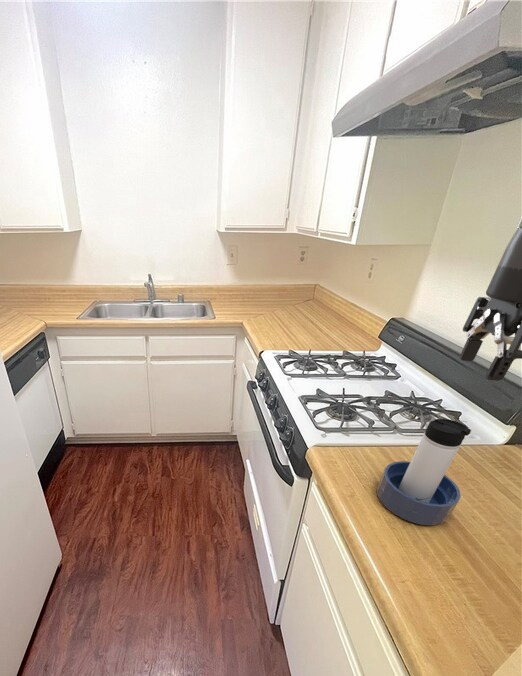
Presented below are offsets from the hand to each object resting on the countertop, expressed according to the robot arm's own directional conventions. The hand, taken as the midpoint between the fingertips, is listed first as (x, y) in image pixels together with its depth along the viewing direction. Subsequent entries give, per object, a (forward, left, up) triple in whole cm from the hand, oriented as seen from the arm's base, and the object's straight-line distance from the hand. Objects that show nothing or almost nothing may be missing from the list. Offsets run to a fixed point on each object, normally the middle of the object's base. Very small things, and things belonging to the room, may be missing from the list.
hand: (478, 369), depth 59 cm
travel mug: (0, 0, -31) cm, 31 cm away
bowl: (0, 0, -32) cm, 32 cm away
